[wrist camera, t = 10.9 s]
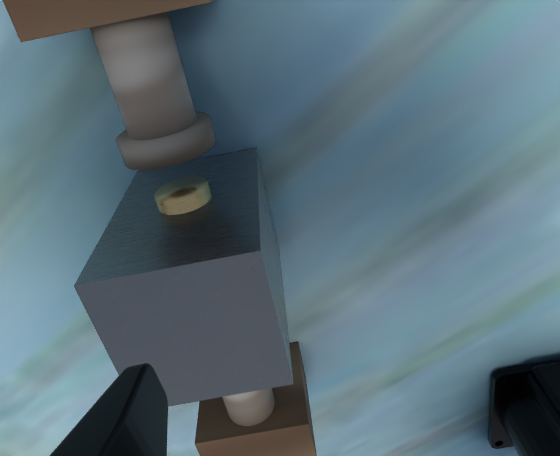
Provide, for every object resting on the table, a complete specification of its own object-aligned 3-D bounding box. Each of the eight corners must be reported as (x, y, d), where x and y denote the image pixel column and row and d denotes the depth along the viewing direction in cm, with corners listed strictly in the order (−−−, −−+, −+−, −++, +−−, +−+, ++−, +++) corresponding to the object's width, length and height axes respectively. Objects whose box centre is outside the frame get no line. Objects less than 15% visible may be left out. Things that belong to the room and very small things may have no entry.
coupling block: (281, 257, 22) (296, 395, 15) (176, 277, 22) (142, 422, 15) (253, 135, 19) (256, 233, 12) (133, 159, 19) (66, 270, 12)
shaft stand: (305, 375, 25) (317, 459, 21) (216, 391, 25) (209, 477, 21) (202, -92, 15) (182, -119, 10) (52, -60, 15) (-29, -72, 11)
